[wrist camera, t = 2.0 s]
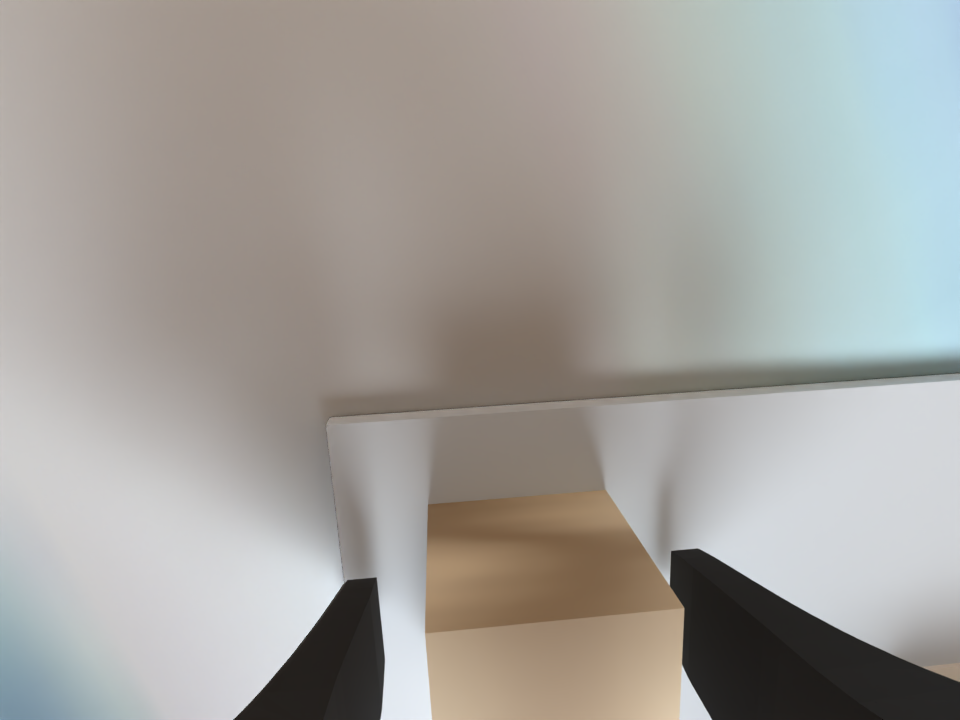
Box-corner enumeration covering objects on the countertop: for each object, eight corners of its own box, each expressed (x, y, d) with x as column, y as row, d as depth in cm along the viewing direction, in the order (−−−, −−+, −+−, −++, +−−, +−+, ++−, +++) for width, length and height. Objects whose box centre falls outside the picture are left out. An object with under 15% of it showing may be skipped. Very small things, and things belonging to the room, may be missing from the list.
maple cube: (439, 657, 13) (441, 839, 9) (427, 503, 12) (424, 633, 8) (604, 641, 13) (674, 810, 9) (605, 490, 12) (684, 607, 8)
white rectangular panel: (391, 948, 16) (389, 976, 15) (330, 417, 12) (324, 426, 11) (1040, 860, 17) (1061, 881, 16) (1164, 358, 13) (1197, 364, 13)
